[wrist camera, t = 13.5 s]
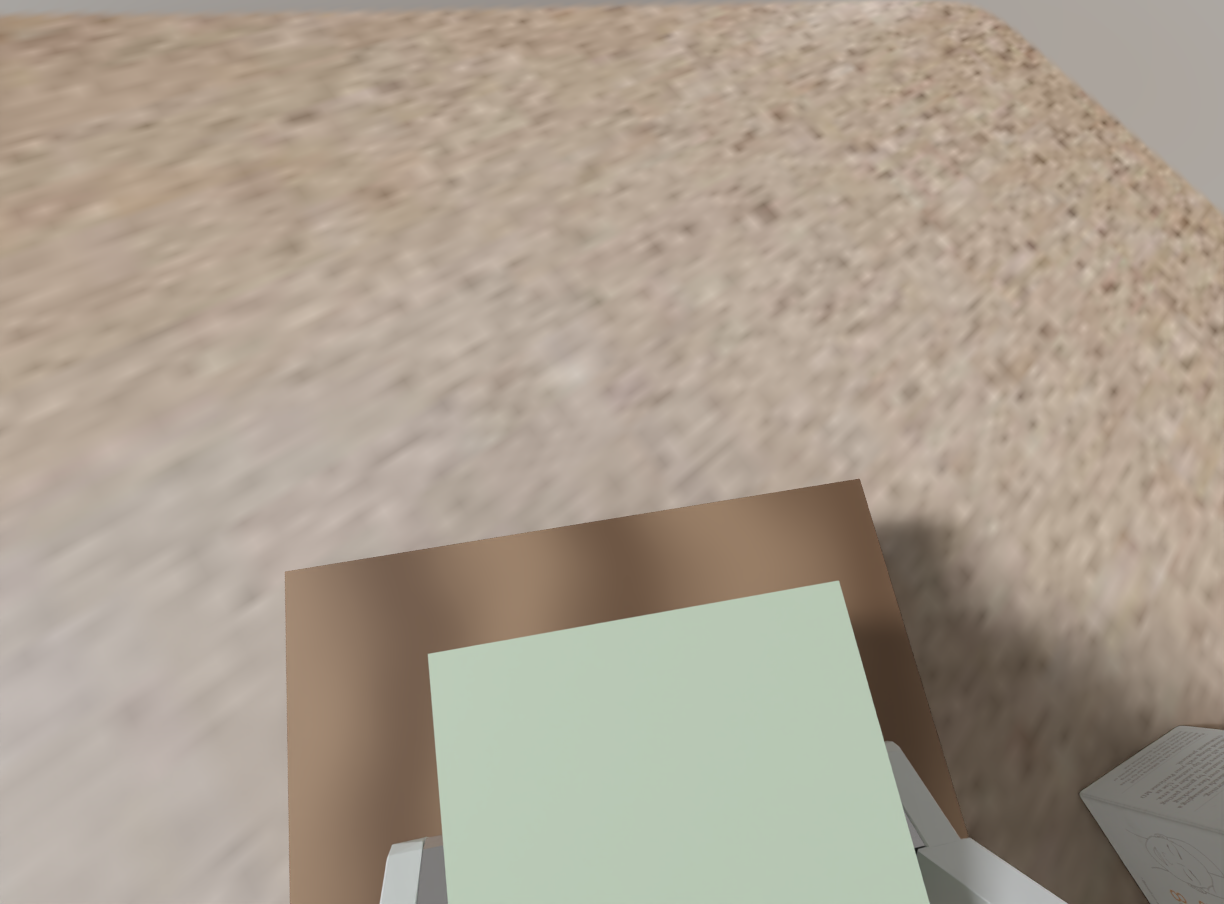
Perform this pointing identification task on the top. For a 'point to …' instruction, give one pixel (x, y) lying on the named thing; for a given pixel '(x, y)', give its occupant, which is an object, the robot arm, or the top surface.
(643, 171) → the top surface
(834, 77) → the top surface
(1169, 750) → the small box
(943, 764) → the stool
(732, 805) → the green block
